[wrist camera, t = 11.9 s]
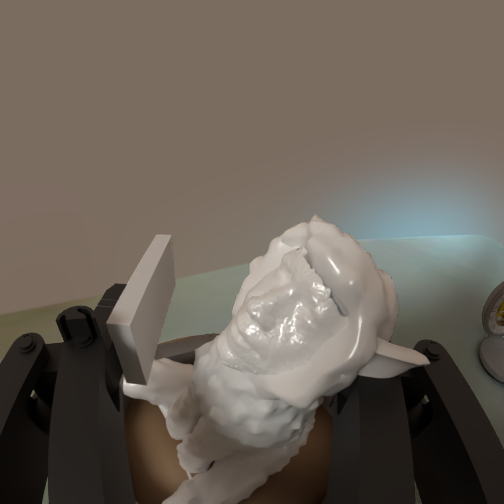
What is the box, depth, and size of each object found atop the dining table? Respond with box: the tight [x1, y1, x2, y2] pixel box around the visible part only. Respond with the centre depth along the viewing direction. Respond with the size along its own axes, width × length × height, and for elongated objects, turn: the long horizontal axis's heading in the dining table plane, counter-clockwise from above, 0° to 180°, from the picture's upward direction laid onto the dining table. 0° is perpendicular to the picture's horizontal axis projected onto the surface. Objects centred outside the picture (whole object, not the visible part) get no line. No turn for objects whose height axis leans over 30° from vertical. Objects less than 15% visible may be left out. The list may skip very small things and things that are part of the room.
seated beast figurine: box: [123, 215, 430, 504], centre depth 9 cm, size 10×9×12 cm
